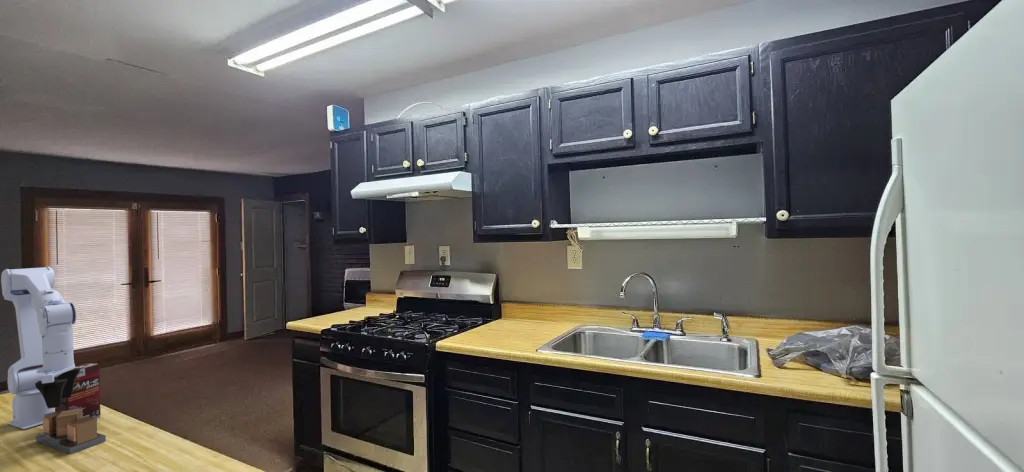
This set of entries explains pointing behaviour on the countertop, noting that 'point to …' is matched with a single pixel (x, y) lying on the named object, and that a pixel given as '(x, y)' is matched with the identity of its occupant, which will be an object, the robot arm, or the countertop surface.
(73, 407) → the supplement box
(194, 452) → the countertop surface
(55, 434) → the rail
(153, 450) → the countertop surface
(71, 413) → the brown wooden block
